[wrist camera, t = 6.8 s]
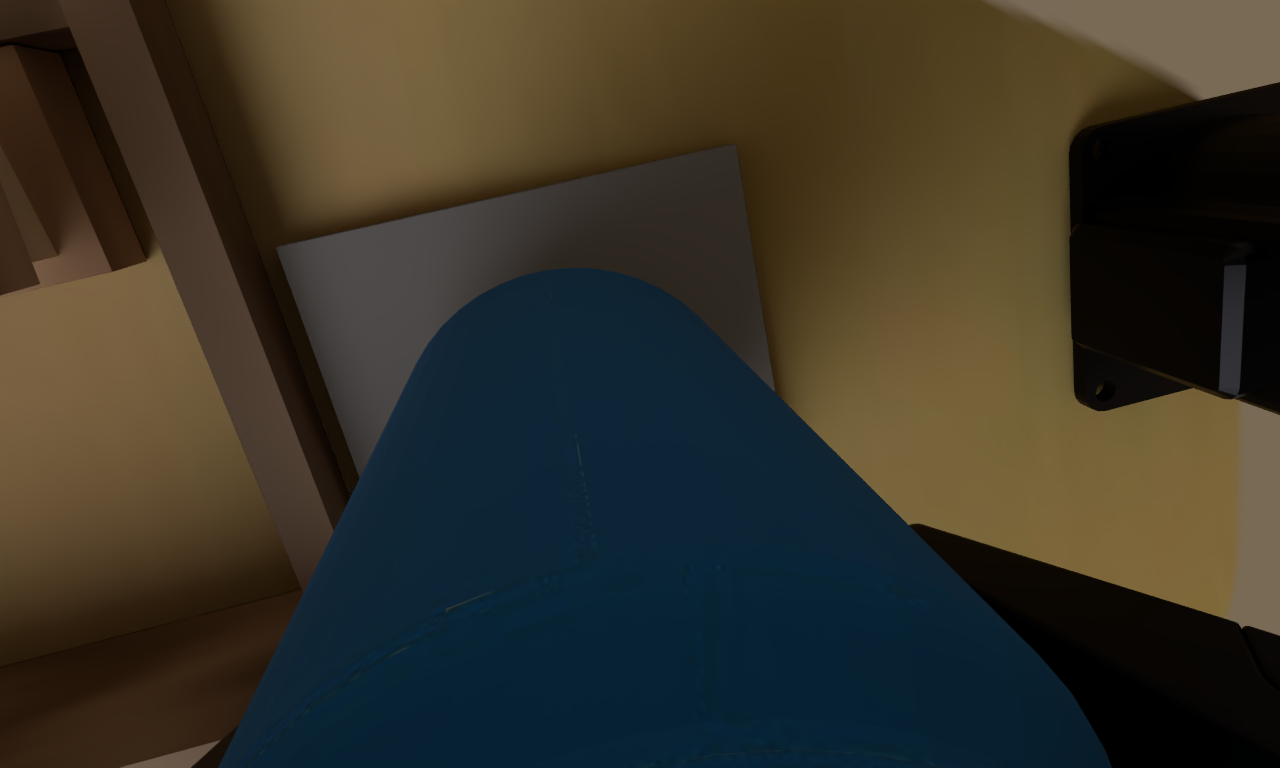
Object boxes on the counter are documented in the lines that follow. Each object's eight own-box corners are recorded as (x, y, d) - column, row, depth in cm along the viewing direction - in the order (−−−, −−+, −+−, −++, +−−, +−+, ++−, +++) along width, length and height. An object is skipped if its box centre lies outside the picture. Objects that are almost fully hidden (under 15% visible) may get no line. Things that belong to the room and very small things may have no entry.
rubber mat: (729, 144, 15) (736, 144, 15) (791, 528, 18) (798, 537, 18) (283, 243, 15) (276, 248, 14) (421, 626, 18) (418, 639, 17)
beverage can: (364, 519, 15) (-112, 1637, 4) (467, 208, 14) (194, 528, 2) (661, 600, 17) (952, 1569, 5) (783, 328, 15) (1540, 871, 4)
